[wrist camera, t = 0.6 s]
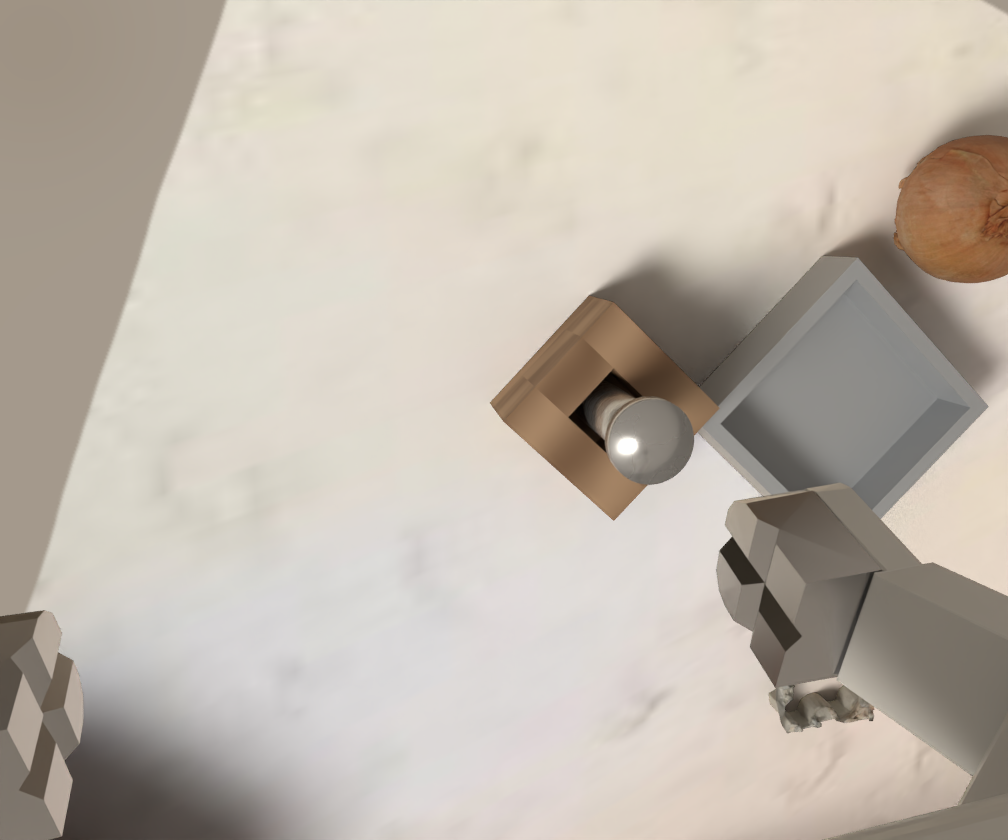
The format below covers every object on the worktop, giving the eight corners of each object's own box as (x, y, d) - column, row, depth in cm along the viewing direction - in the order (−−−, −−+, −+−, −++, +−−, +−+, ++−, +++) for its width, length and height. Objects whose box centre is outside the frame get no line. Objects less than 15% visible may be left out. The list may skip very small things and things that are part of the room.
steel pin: (643, 398, 59) (711, 438, 47) (595, 449, 59) (651, 501, 48) (595, 351, 58) (652, 381, 46) (546, 404, 58) (592, 446, 46)
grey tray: (946, 394, 64) (988, 406, 60) (807, 539, 65) (839, 561, 61) (822, 255, 60) (857, 257, 56) (676, 411, 61) (700, 425, 57)
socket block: (686, 391, 61) (719, 408, 55) (590, 493, 61) (613, 520, 56) (589, 295, 58) (613, 302, 53) (489, 403, 59) (503, 421, 53)
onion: (912, 306, 62) (1012, 319, 53) (839, 207, 60) (930, 202, 50) (1009, 216, 62) (1128, 213, 52) (940, 113, 60) (1051, 90, 50)
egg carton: (848, 698, 69) (878, 727, 65) (760, 717, 68) (785, 748, 64) (843, 577, 66) (874, 598, 63) (752, 595, 66) (778, 618, 62)
